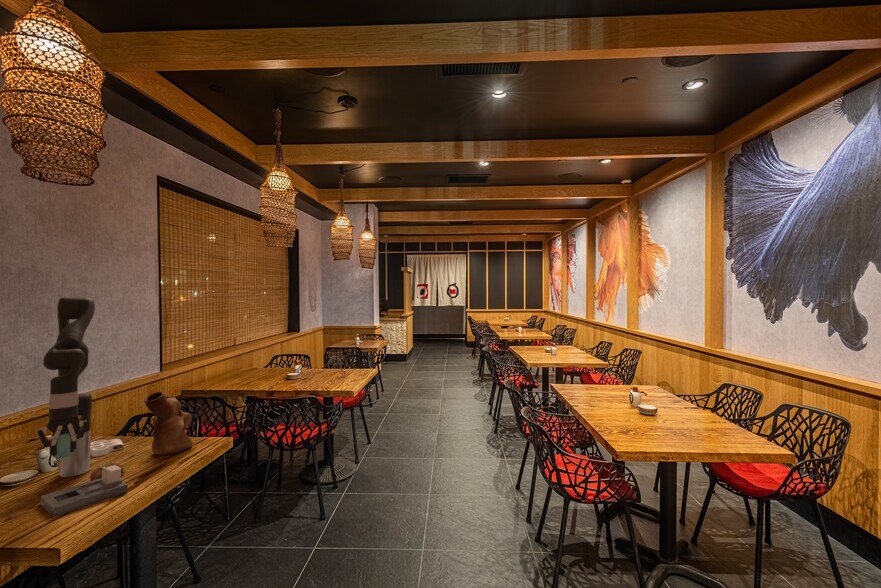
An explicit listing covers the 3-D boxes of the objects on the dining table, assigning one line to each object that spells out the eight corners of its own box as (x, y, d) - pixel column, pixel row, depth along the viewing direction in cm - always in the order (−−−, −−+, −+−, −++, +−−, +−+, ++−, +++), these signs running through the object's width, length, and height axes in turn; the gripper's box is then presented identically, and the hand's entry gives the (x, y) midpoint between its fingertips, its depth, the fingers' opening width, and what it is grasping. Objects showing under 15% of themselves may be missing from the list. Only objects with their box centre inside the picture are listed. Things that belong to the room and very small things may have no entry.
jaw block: (101, 481, 145) (102, 467, 145) (115, 477, 149) (115, 463, 149) (107, 485, 142) (107, 470, 142) (120, 481, 145) (121, 466, 145)
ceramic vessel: (199, 445, 191) (200, 386, 192) (158, 463, 170) (158, 396, 171) (175, 443, 195) (175, 384, 196) (131, 460, 174) (132, 394, 175)
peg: (53, 457, 135) (54, 434, 135) (68, 453, 138) (69, 431, 138) (56, 459, 132) (57, 436, 133) (72, 455, 136) (72, 433, 136)
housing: (40, 504, 135) (40, 493, 135) (111, 482, 152) (112, 472, 152) (53, 517, 126) (53, 506, 126) (127, 492, 143) (127, 482, 143)
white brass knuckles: (124, 451, 186) (84, 460, 175) (120, 442, 198) (81, 450, 188) (125, 444, 186) (84, 453, 175) (120, 436, 198) (81, 443, 188)
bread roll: (103, 483, 159) (93, 467, 158) (130, 468, 163) (121, 453, 162) (91, 493, 150) (80, 476, 149) (120, 478, 153) (110, 461, 152)
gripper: (86, 400, 144) (86, 445, 143) (32, 408, 132) (31, 458, 131) (93, 402, 140) (92, 449, 139) (37, 411, 128) (36, 462, 127)
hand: (62, 453), depth 135 cm, fingers closed on peg, 4 cm apart
